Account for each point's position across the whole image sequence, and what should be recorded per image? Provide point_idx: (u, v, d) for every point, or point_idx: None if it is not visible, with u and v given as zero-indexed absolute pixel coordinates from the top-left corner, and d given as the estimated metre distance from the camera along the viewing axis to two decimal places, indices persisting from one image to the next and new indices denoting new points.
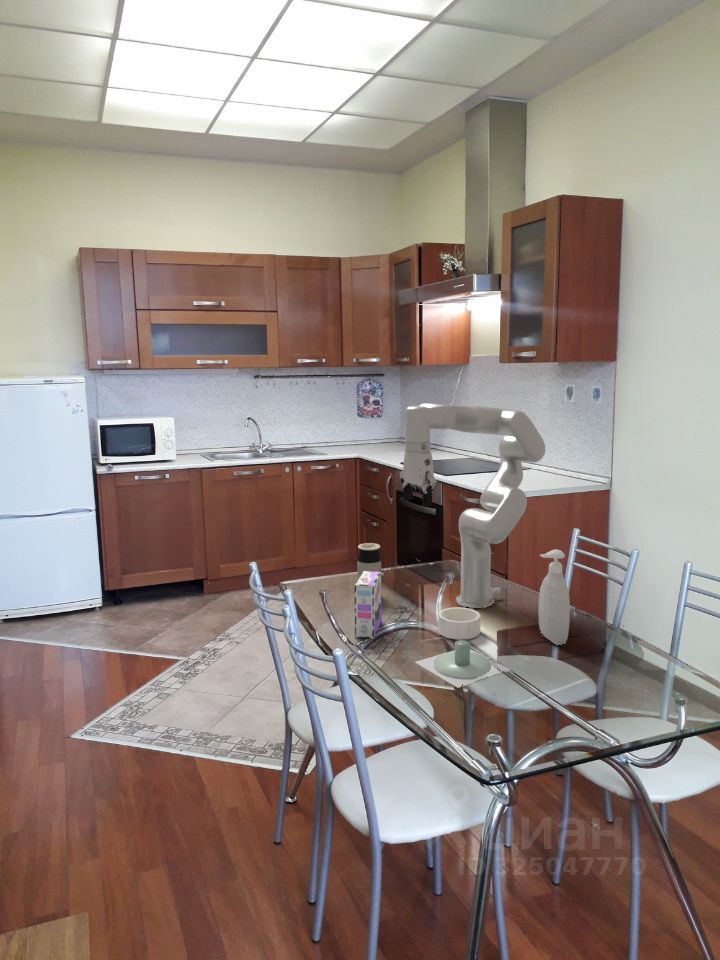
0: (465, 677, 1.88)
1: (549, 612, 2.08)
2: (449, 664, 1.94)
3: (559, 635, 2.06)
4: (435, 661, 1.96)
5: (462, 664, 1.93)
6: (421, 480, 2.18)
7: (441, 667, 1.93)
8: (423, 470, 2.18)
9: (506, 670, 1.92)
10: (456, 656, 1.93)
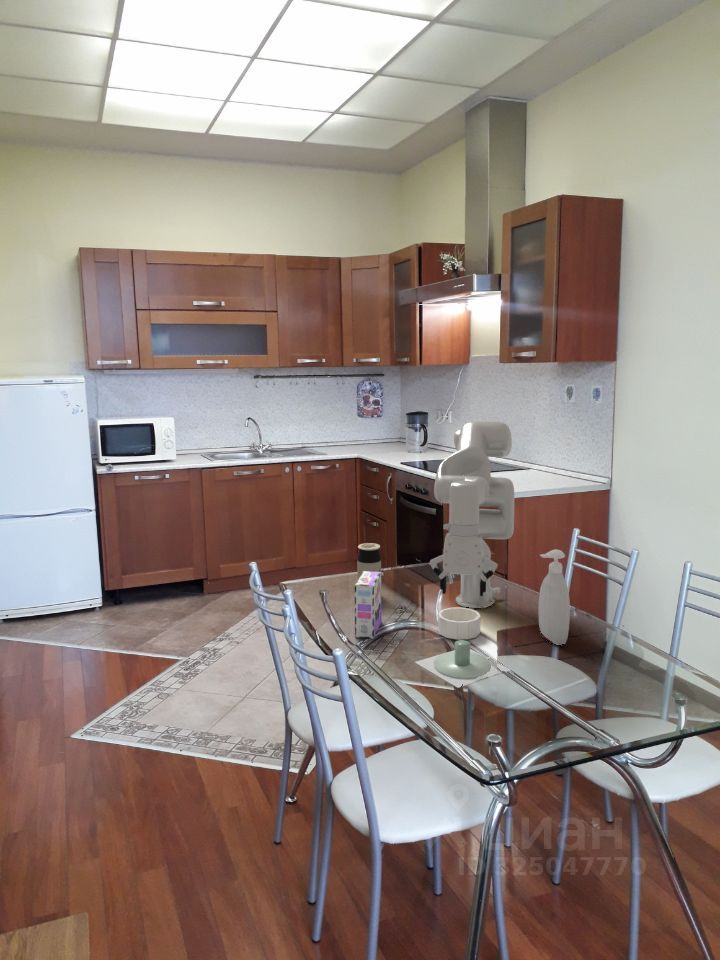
0: (465, 677, 1.88)
1: (549, 612, 2.08)
2: (449, 664, 1.94)
3: (559, 635, 2.06)
4: (435, 661, 1.96)
5: (462, 664, 1.93)
6: None
7: (441, 667, 1.92)
8: None
9: (506, 670, 1.92)
10: (456, 656, 1.93)
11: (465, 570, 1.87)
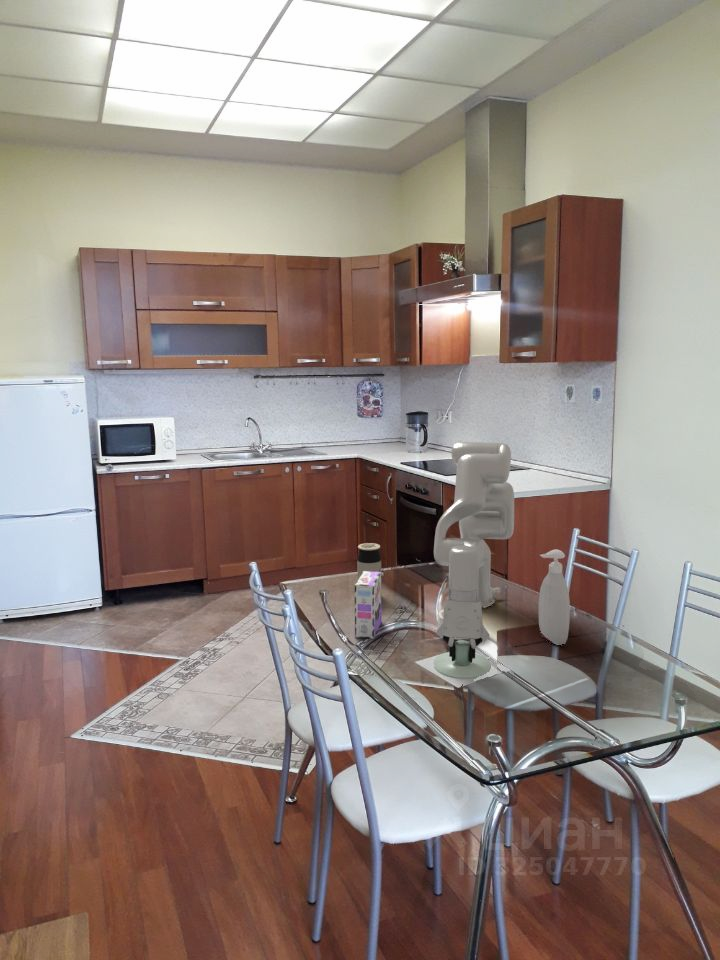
0: (465, 677, 1.88)
1: (549, 612, 2.08)
2: (449, 664, 1.94)
3: (559, 635, 2.06)
4: (435, 661, 1.96)
5: (462, 664, 1.93)
6: None
7: (441, 667, 1.92)
8: None
9: (506, 670, 1.92)
10: (456, 656, 1.93)
11: (464, 634, 1.90)
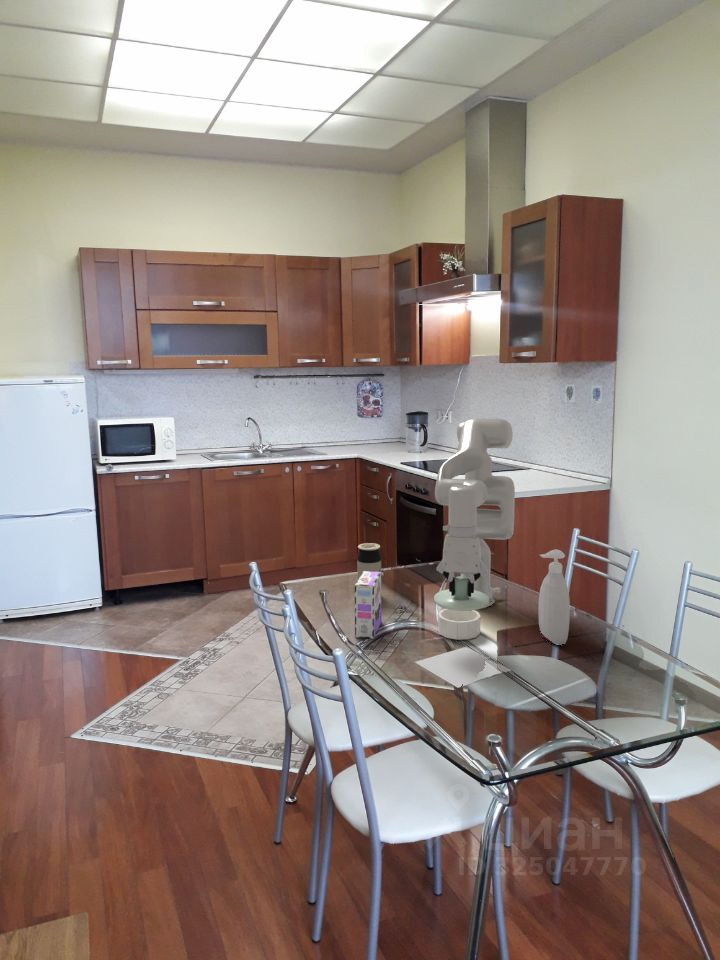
0: (464, 609, 1.96)
1: (549, 612, 2.08)
2: (449, 599, 2.03)
3: (559, 635, 2.06)
4: (435, 596, 2.05)
5: (461, 598, 2.01)
6: None
7: (441, 601, 2.01)
8: None
9: (506, 670, 1.92)
10: (456, 591, 2.02)
11: (463, 569, 1.99)
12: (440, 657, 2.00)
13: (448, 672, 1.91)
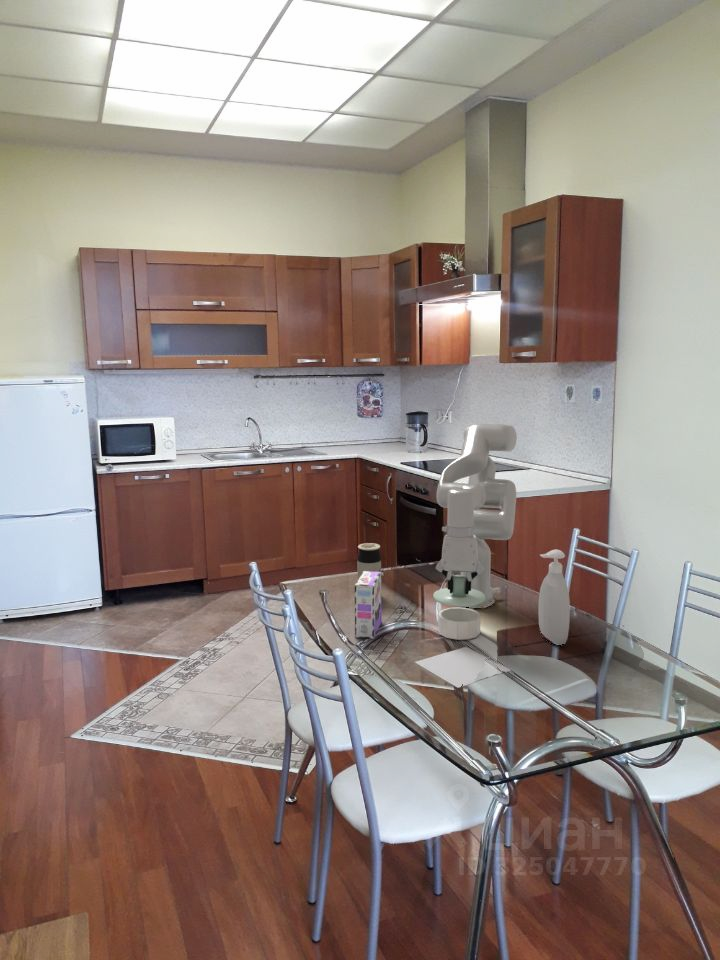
0: (462, 605, 2.08)
1: (549, 612, 2.08)
2: (447, 596, 2.14)
3: (559, 635, 2.06)
4: (435, 594, 2.16)
5: (459, 595, 2.13)
6: None
7: (440, 598, 2.12)
8: None
9: (506, 670, 1.92)
10: (454, 588, 2.13)
11: (461, 567, 2.11)
12: (440, 657, 2.00)
13: (448, 672, 1.91)
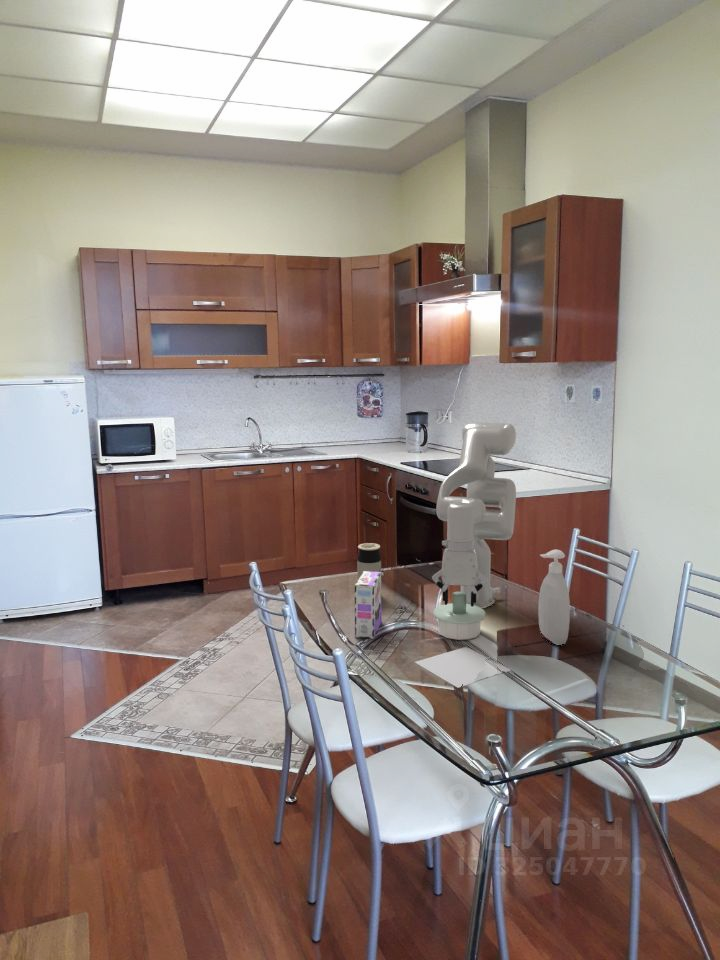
0: (462, 623, 2.09)
1: (549, 612, 2.08)
2: (447, 613, 2.16)
3: (559, 635, 2.06)
4: (435, 610, 2.17)
5: (459, 612, 2.14)
6: None
7: (440, 615, 2.14)
8: None
9: (506, 670, 1.92)
10: (454, 605, 2.15)
11: (461, 581, 2.11)
12: (440, 657, 2.00)
13: (448, 672, 1.91)
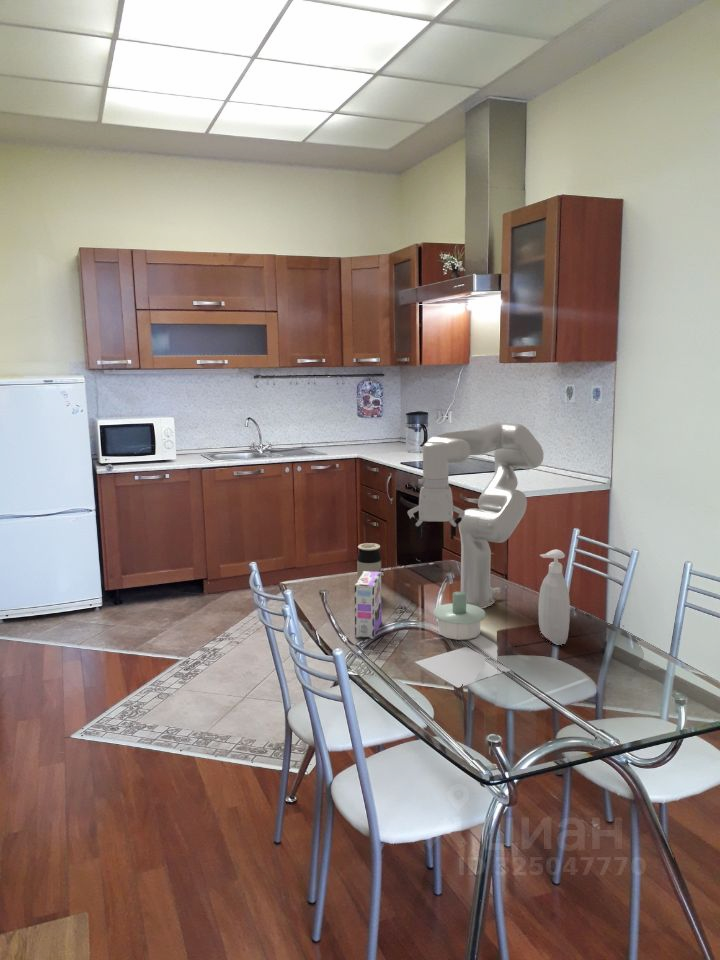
0: (462, 623, 2.09)
1: (549, 612, 2.08)
2: (447, 613, 2.16)
3: (559, 635, 2.06)
4: (435, 610, 2.17)
5: (459, 612, 2.14)
6: None
7: (440, 615, 2.14)
8: None
9: (506, 670, 1.92)
10: (454, 605, 2.15)
11: (438, 517, 2.20)
12: (440, 657, 2.00)
13: (448, 672, 1.91)
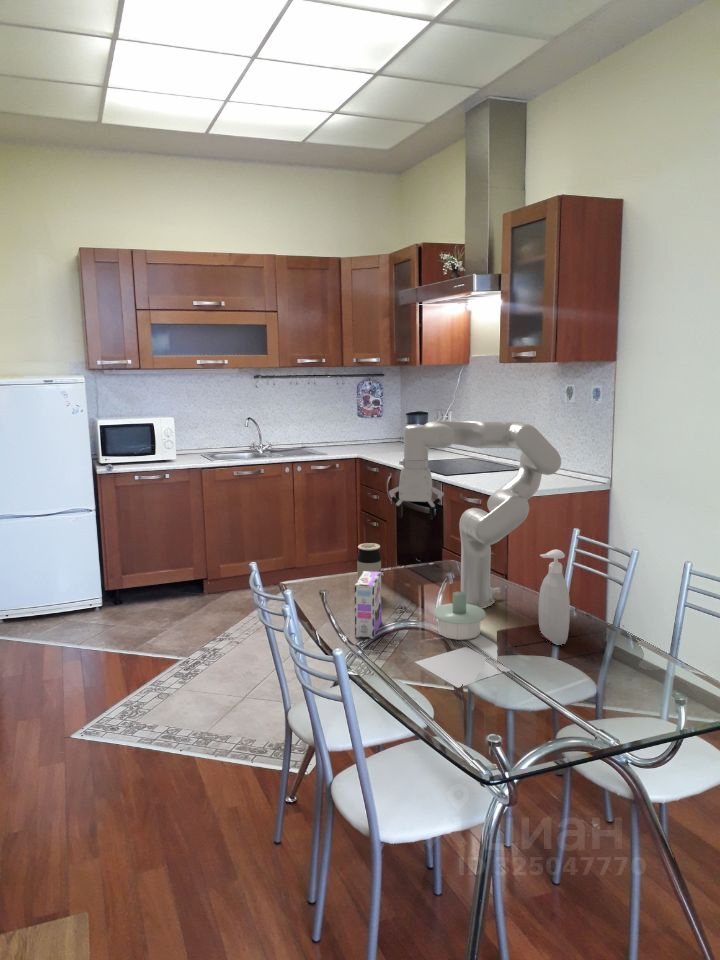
0: (462, 623, 2.09)
1: (549, 612, 2.08)
2: (447, 613, 2.16)
3: (559, 635, 2.06)
4: (435, 610, 2.17)
5: (459, 612, 2.14)
6: None
7: (440, 615, 2.14)
8: None
9: (506, 670, 1.92)
10: (454, 605, 2.15)
11: (417, 497, 2.29)
12: (440, 657, 2.00)
13: (448, 672, 1.91)
